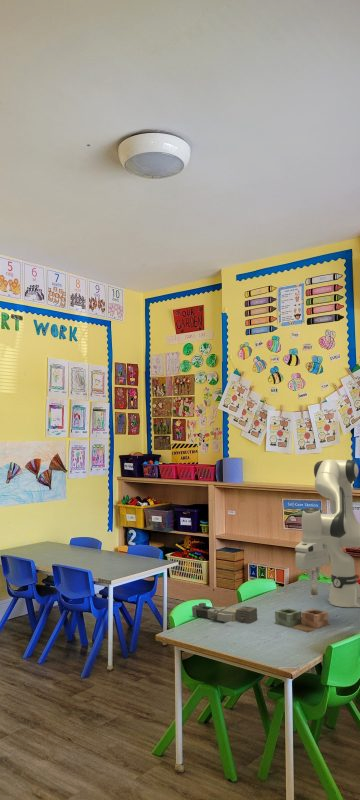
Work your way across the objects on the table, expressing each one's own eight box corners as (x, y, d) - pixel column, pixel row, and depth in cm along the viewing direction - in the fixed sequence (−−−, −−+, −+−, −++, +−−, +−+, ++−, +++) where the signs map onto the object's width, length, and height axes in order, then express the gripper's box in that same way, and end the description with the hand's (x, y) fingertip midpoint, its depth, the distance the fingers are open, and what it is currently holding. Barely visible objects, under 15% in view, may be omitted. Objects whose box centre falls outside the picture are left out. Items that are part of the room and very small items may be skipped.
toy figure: (203, 599, 274) (259, 606, 257) (204, 614, 273) (260, 622, 256) (190, 605, 265) (246, 612, 248) (190, 620, 264) (247, 628, 247)
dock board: (296, 619, 260) (295, 604, 260) (330, 627, 246) (329, 612, 247) (273, 626, 249) (273, 611, 250) (308, 636, 236) (307, 619, 236)
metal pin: (313, 593, 250) (312, 569, 251) (319, 594, 248) (318, 570, 249) (309, 594, 248) (308, 570, 249) (315, 595, 246) (314, 571, 247)
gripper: (320, 542, 259) (321, 573, 258) (292, 547, 245) (293, 580, 244) (332, 543, 254) (333, 575, 253) (304, 549, 241) (305, 582, 239)
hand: (313, 577), depth 248 cm, fingers closed on metal pin, 3 cm apart
